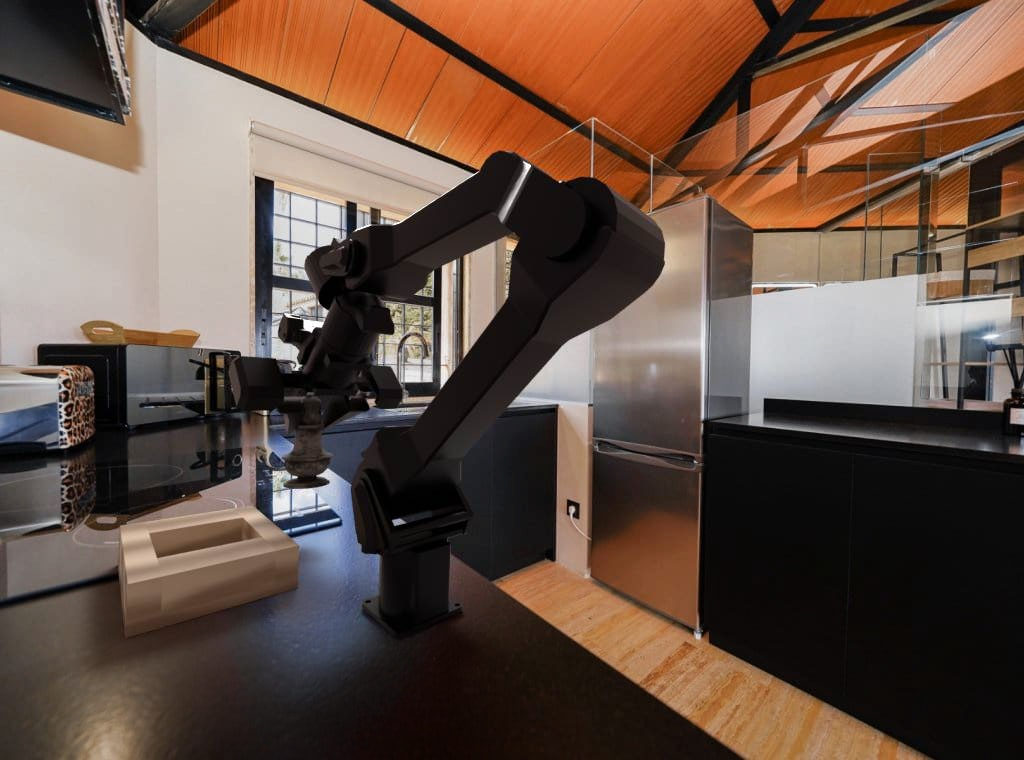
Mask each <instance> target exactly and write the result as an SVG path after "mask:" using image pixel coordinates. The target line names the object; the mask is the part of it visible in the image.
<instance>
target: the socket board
mask: <svg viewBox="0 0 1024 760" xmlns="http://www.w3.org/2000/svg"><path fill="white" fill-rule="evenodd" d="M118 534H119V535H118V555H117V556H118V557H117V569H118V579H119V590H120V591H119V592H120V598H121V599H120V600H121V601H120V602H121V607H122V608H121V611H122V621H123V628H124V630H123V631H124V639H128V638H131V637H135V636H137V635H143V634H145V633H148V632H152V631H155V630H159V629H162V628H166V627H168V626H172V625H175V624H176V625H177V624H179V623H182V622H186V621H190V620H193V619H196V618H201V617H202V616H206V615H210V614H213V613H217V612H220V611H223V610H227V609H230V608H234V607H237V606H241V605H244V604H248V603H251V602H255V601H259V600H261V599H264V598H268V597H272V596H275V595H279V594H282V593H285V592H290V591H291V590H296V589H298V588H299V568H300V567H299V565H300V545H299V544H298V543H297V542H296V541H295V540H294V539H293V538H292V537H291V536H289V535H288V534H287V533H286V532H284V531H283V530H282V529H281V528H280V527H278V526H277V525H276V524H275V523H274V522H272V521H271V519H269V518H268V517H267V516H265V515H264V514H263V513H262V512H261V511H260V510H258V509H257V508H256V507H255V506H254V505H247V506H241V507H235V508H234V507H233V508H228V509H221V510H216V511H208V512H201V513H195V514H188V515H181V516H175V517H169V518H161V519H156V520H148V521H142V522H135V523H129V524H122V525H119V533H118Z"/></svg>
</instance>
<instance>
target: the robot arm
mask: <svg viewBox="0 0 1024 760" xmlns="http://www.w3.org/2000/svg"><path fill="white" fill-rule="evenodd" d="M663 233H664V232H663V231H662V229H661V227H660V226H659V225H658V223H657V222H656V221H655V219H653V218H652V217H651V216H649V215H648V214H647V213H645V212H644V211H643V210H641V209H640V208H639V207H637V206H636V205H635V204H633V203H632V202H631V201H629V200H628V199H627V198H625V197H624V196H622V195H621V194H620V193H618V192H617V191H616V190H615V189H613V188H612V187H610V186H609V185H608V184H606V183H605V182H603V181H601V180H600V179H597V178H596V177H593V176H592V177H591V176H579V177H576V178H573V179H570V180H566V181H565V180H560V181H558V180H556V179H555V178H553V177H552V176H551V175H550V174H549V173H547V172H546V171H545V170H543V169H541V168H540V167H538V166H537V165H536V164H534V163H532V162H531V161H530V160H528V159H526V158H525V157H523V156H521V155H520V154H518V153H517V152H516V151H509V150H506V151H505V150H497V151H495V152H494V151H493V152H492V153H491V154H490V155H489V156H488V157H487V158H486V159H485V161H484V162H483V164H482V165H481V167H480V169H479V171H477V172H476V173H474V174H472V175H471V176H470V177H468V178H467V179H465V180H463V181H462V182H459V184H457V185H455V186H454V187H453V188H451V189H449V190H448V191H446V192H445V193H444V194H441V196H438V197H437V198H435V199H434V200H432V201H431V202H429V203H428V204H426V205H425V206H423V207H422V208H420V209H419V210H417V211H416V212H414V213H413V214H411V215H410V216H408V217H406V218H405V219H403V220H401V221H399V222H397V223H374V224H373V223H372V224H367V225H365V226H363V227H360V228H357V229H355V230H353V231H351V233H349V234H348V236H347V238H345V239H343V238H338V237H335V236H334V237H332V241H331V243H330V244H327V245H322V246H320V247H318V248H315V249H314V250H312V251H311V252H310V253H309V255H306V258H305V260H304V265H303V266H304V271H305V274H306V276H307V279H308V280H309V283H310V285H311V287H312V289H313V292H314V294H315V296H316V299H317V301H318V303H319V306H322V308H323V309H325V310H326V311H328V312H327V313H326V316H325V318H324V321H316V320H309V319H308V320H307V319H303V318H301V316H300V315H299V314H298V315H297V314H292V313H285V312H284V313H283V315H282V316H281V319H280V322H279V325H278V330H277V337H278V338H279V340H280V341H281V342H282V343H283V344H286V345H292V346H293V347H295V348H296V349H297V350H298V354H297V356H296V360H297V362H298V365H299V366H303V370H296V369H294V370H291V371H290V372H281V371H280V366H279V365H278V361H277V359H276V358H275V357H261V356H246V355H239V356H238V355H237V356H236V357H235V358H234V359H232V361H231V362H230V366H229V369H228V372H227V373H228V376H229V380H230V384H231V389H232V394H233V398H234V402H235V406H236V408H238V409H239V410H241V411H243V412H251V411H252V412H253V411H255V412H257V411H265V412H266V411H270V412H271V411H274V410H275V411H276V412H277V413H278V414H280V415H283V418H284V428H285V432H286V434H287V435H291V434H292V433H293V432H294V431H295V429H296V427H297V426H298V424H299V423H300V421H301V419H302V418H303V416H304V415H305V413H306V409H305V406H304V403H303V399H304V398H305V396H306V395H308V394H312V395H314V396H330V398H329V400H328V402H327V404H326V406H325V408H324V409H323V412H322V416H321V423H322V424H324V425H325V426H323V427H322V433H323V432H326V431H327V430H329V429H331V428H333V427H335V426H337V425H339V424H341V423H343V422H345V421H347V420H349V419H351V418H353V417H355V416H358V415H360V414H364V413H368V412H369V411H370V410H371V406H370V404H369V402H368V399H369V396H370V394H371V392H374V393H375V396H376V397H375V399H374V401H373V402H374V403H375V406H376V407H377V409H378V410H383V409H384V410H385V409H386V410H390V409H391V410H392V409H393V410H394V409H395V410H396V409H398V407H399V406H400V404H401V402H402V401H403V399H404V395H405V393H404V392H405V390H404V389H403V387H402V385H401V383H400V381H399V379H398V377H397V374H396V373H395V372H394V371H395V370H394V369H393V368H392V366H391V365H390V366H389V365H380V364H379V365H378V364H377V365H376V364H373V363H372V361H371V358H370V355H371V353H372V351H373V349H374V347H375V345H376V343H377V342H378V340H379V337H380V335H386V336H387V335H388V336H394V335H395V323H394V321H393V319H392V316H391V314H392V313H391V308H390V307H386V305H385V303H384V302H383V300H382V298H381V297H385V298H389V299H394V300H399V301H407V300H409V299H411V297H413V296H414V295H416V294H417V293H419V292H420V291H421V290H423V289H424V288H425V287H426V286H428V282H429V276H430V274H432V272H434V271H436V270H437V269H439V268H441V267H444V266H446V265H448V264H450V263H453V262H454V261H457V260H458V259H460V258H462V257H466V256H468V255H469V254H471V253H474V252H476V251H477V250H480V249H482V248H484V247H487V246H488V245H490V244H492V243H495V242H497V241H499V240H501V239H503V238H505V237H507V236H510V235H512V234H514V235H516V236H517V237H518V238H519V239H518V240H517V243H516V245H515V246H514V248H513V249H514V250H512V253H511V259H510V269H509V280H508V291H507V293H508V294H507V297H506V299H505V301H504V303H503V304H502V305H501V307H500V308H499V310H498V311H497V312H496V314H495V315H493V318H492V319H491V320H490V322H488V324H487V325H486V327H485V328H484V329H483V331H482V333H480V335H479V337H478V338H477V339H476V340H475V342H474V343H473V345H472V346H471V348H469V350H468V351H467V352H466V354H465V356H464V357H463V358H462V359H461V361H460V362H459V364H458V365H457V366H456V368H455V369H454V370H453V372H452V373H451V374H450V375H449V377H448V379H446V381H445V382H444V384H443V385H442V386H441V388H440V389H439V391H438V392H437V393H436V395H435V396H434V397H433V399H432V400H431V401H430V403H429V404H428V405H427V407H426V408H425V409H424V410H423V412H422V414H421V415H420V416H419V417H418V419H417V420H416V421H415V423H414V424H412V425H411V424H409V425H407V424H406V425H390V426H389V425H388V426H382V427H381V428H380V429H378V430H377V431H376V432H375V434H374V435H373V438H372V440H371V442H370V444H369V446H367V448H366V449H365V450H363V451H361V452H360V456H361V458H362V460H360V463H359V464H358V466H357V468H356V471H355V473H354V475H353V477H352V480H351V485H350V497H351V505H352V514H353V521H354V529H355V530H354V532H355V535H356V541H357V543H358V544H359V545H360V547H361V548H360V553H363V554H364V555H379V569H378V572H379V573H378V595H375V596H372V597H368V598H366V599H363V600H362V601H361V608H362V609H363V611H365V612H366V613H367V614H368V615H369V616H370V617H372V618H373V619H374V620H375V621H376V622H377V623H378V624H380V625H381V626H382V628H384V629H385V630H386V631H387V632H388V633H389V634H390V635H392V636H393V637H395V638H396V639H402V638H404V637H407V636H409V635H412V634H414V633H416V632H419V631H420V630H423V629H426V628H428V627H429V626H432V625H434V624H437V623H439V622H441V621H443V620H445V619H448V618H450V617H452V616H455V615H457V614H458V613H461V612H463V610H464V603H463V602H462V601H460V600H458V599H457V598H456V597H453V596H452V595H450V584H451V583H450V581H451V556H452V555H451V552H452V548H451V547H452V543H451V542H450V541H449V539H450V538H453V537H456V536H460V535H462V536H463V535H467V534H468V533H470V529H471V526H472V522H473V519H474V512H473V510H472V507H471V506H470V504H469V502H468V500H467V498H466V496H465V494H464V493H463V490H462V489H461V487H460V482H461V480H462V460H463V458H464V457H465V456H466V455H467V454H468V452H470V450H471V449H472V448H473V447H474V446H475V445H476V444H477V443H478V442H479V440H480V439H481V438H483V436H484V435H485V434H486V433H487V431H488V430H489V429H490V428H491V427H492V425H494V424H495V422H497V420H498V419H499V418H500V417H501V416H502V414H503V413H504V412H505V411H506V410H507V409H508V408H509V407H510V406H511V404H512V403H513V402H514V401H515V400H516V399H517V398H518V396H520V394H521V393H522V392H523V391H524V390H525V388H526V387H528V385H529V384H530V383H531V382H532V380H534V378H536V377H537V375H538V374H539V373H540V372H541V371H542V370H543V368H544V367H545V366H546V365H547V364H548V363H549V361H550V360H552V358H553V357H554V356H555V355H556V354H557V353H558V351H559V350H560V349H561V348H562V347H563V346H564V345H565V344H566V343H567V342H569V341H571V340H573V339H574V338H576V337H578V336H580V335H582V334H584V333H587V332H588V331H590V330H593V329H595V328H597V327H599V326H601V325H603V324H605V323H607V322H609V321H610V320H612V319H614V318H615V317H616V316H617V315H619V314H620V313H621V312H622V311H623V310H625V309H626V308H628V306H630V305H632V303H634V302H635V301H636V300H638V299H639V298H640V297H642V296H643V295H644V294H645V293H647V292H648V291H649V290H651V288H652V287H653V286H654V285H655V283H656V282H657V280H658V279H659V278H660V276H661V275H662V272H663V270H664V268H665V266H666V260H665V253H666V242H665V238H664V234H663ZM429 512H431V516H428V517H424V518H421V519H416V520H413V521H409V522H405V523H399V524H397V525H395V524H394V522H393V521H395V520H399V519H403V518H407V517H413V516H416V515H420V514H425V513H429Z"/></svg>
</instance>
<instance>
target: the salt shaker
mask: <svg viewBox="0 0 1024 760" xmlns="http://www.w3.org/2000/svg"><path fill="white" fill-rule="evenodd" d="M303 403H304V406H305V409H306V413H305V415H304V416H303V418H302V419H301V421H300V423H299V424H298V426H297V427H296V429H295V430H294V431H295V433H294V434H295V435H294V445H293V446H292V447H293V448H292V450H291V451H290V452H288V453H287V454H283V455H282V456H281V460H283V466H284V468H285V471H286V472H287V473H288V474H289V475H290V476H292V477H293V476H294V477H295V478H290V479H289V480H287V481H286V482H284V483H283V485H282V487H283V488H285V489H291V490H307V489H309V490H310V489H315V488H321V487H325V486H328V485H329V484H330V483H331V481H330V479H327V478H326V477H324V476H320V475H321V474H323V473H325V472H326V470H328V468H329V466H330V465H331V458H332V457H334V454H333V453H331V452H328V451H326V450H325V449H324V446H323V443H322V436H323V435H322V434H323V432H322V427H323V426H325V425H324V424H322V423H321V416H322V414H323V412H322V410H323V409H322V407H323V403H322V400H321V399H320V398H319V397H317V396H315V395H314V394H307V395H306V396H305V398H304V399H303Z"/></svg>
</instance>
